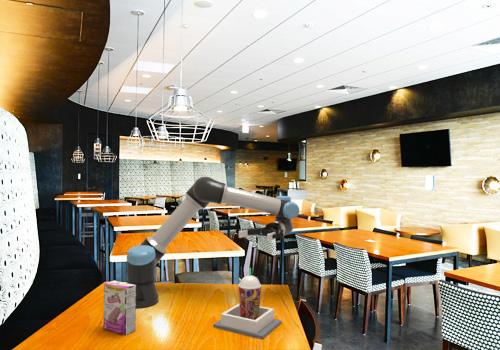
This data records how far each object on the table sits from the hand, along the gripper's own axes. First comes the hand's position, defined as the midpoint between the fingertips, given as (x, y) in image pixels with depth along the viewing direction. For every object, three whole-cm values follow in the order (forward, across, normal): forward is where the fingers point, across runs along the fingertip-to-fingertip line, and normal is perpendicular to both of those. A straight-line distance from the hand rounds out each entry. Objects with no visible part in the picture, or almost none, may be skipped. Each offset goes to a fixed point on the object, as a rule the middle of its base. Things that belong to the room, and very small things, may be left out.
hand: (253, 236), depth 153 cm
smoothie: (+17, -8, -29) cm, 34 cm away
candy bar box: (+44, +30, -30) cm, 61 cm away
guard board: (+17, -7, -30) cm, 35 cm away
